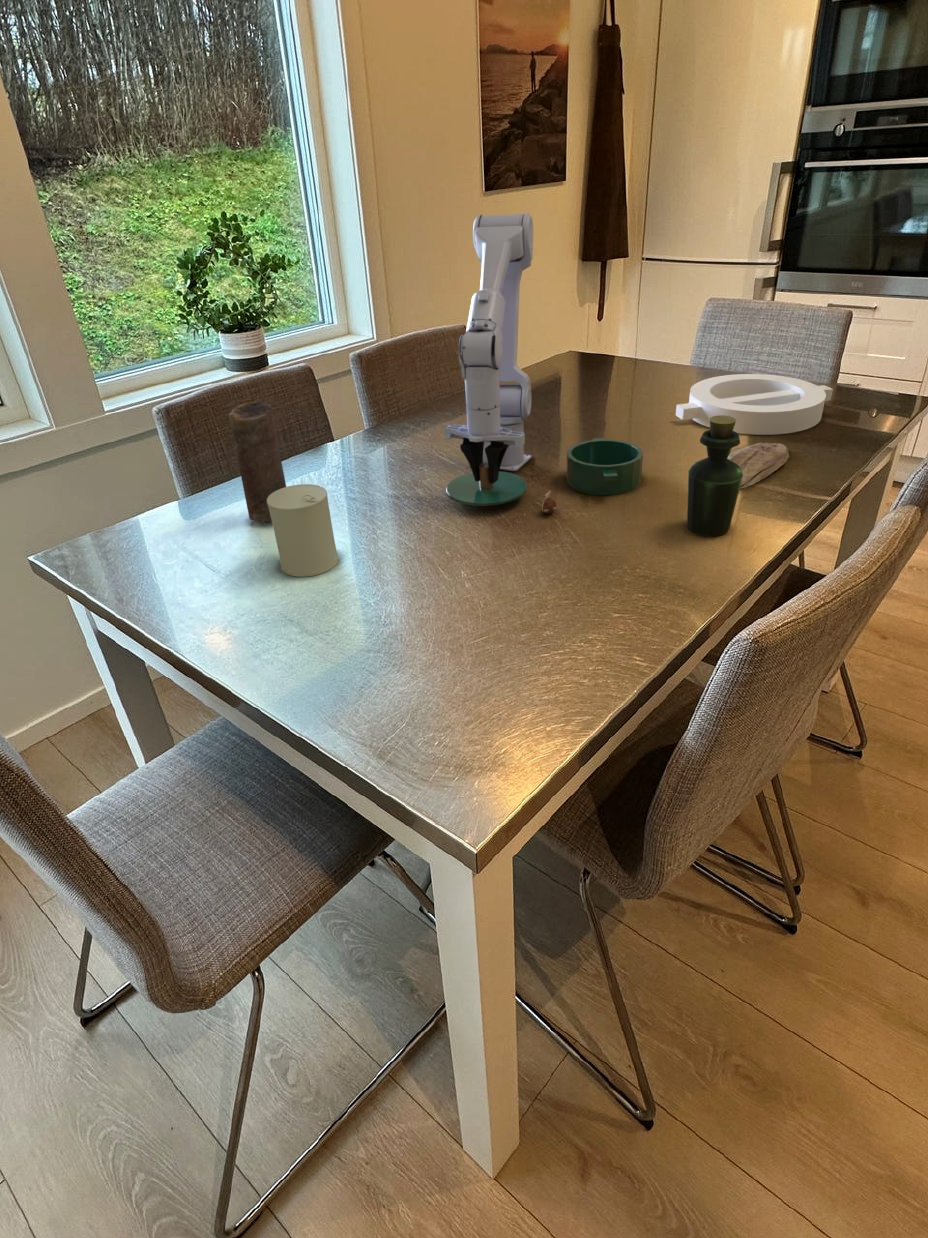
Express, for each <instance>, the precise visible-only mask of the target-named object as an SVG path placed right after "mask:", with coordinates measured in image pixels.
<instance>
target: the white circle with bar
mask: <svg viewBox="0 0 928 1238" xmlns="http://www.w3.org/2000/svg"><path fill="white" fill-rule="evenodd" d="M833 392H834V388H831V387H829V386H828V385H824V384H821V385H817V384H814V383H812V382H810V381H807V380H803V379H800V378H795V377H790V376H783V375H777V374H776V375H775V374H763V373H762V374H761V373H737V374H736V373H735V374H726V375H719V376H713V377H708V378H705V379H702V380H700V381H698V382H696V383H694V384H692V386H691V387H690V389H689V398H688V402H687V403H679V404H676V407H675V416H676V417H678V418H679V419H680V420H682V421H685V420H693V421H694V422H696V423H698V424H699V425H702V426H704V427H707V428H710V418H711V417H713V416H719V415H720V416H730V417H734V418H735V419H736V423H735V425H734V428H733V431H735V432H736V433H738V434H741V435H759V436H770V435H784V434H785V435H787V434H792V433H797V432H798V433H799V432H801V431H805V430H809V429H811V428H813V427H815V426H816V425H818V424H819V423H820V422H821V420H822V417H823V412H824V408H825V403H826V402H829V401H830V402H831V401H832V397H833Z"/></svg>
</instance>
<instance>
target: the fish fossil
mask: <svg viewBox="0 0 928 1238" xmlns="http://www.w3.org/2000/svg"><path fill="white" fill-rule="evenodd" d="M789 458H790V454H789V449H788V447H787V446H786V445H784V444H783V443H773V442H772V443H771V442H758V443H755V444H751V445H747V446H744V447H741V448H736V449H735V450H733V451H732V452H730V453H729V456H728V458H727V459H729V460H731V461H732V462H734V463H736V464H737V465H738V466H740V469H741V471H742V474H743V478H742V482H741V485H740V489H739V490H741V489H746V488H748V487H750V486H753V485H755V484H757V483H758V482H760V481H762V480H765V479H766V478H767V477H768V476H770V475H772V474H773V473H774V472H775V471H777V470H778V469H780V468H781V467H782V466H784V465H785V464H786V463H787V462H788V459H789Z"/></svg>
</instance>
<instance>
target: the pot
mask: <svg viewBox="0 0 928 1238" xmlns="http://www.w3.org/2000/svg"><path fill="white" fill-rule="evenodd" d="M643 459H644V453H643V449H642V448H641V447H640V446H638V445H636V444H634V443H631V442H628V441H625V440H619V439H606V438H605V437H595V438H592V440H585V441H582V442H581V441H580V442H578V443H576V444H574V445H572V446H570V447H569V448H568V449H567V451H566V483H567V485H568V486H569V487H570V488H572V489H573V490H575V491H577V492H580V493H583V494H587V495H593V496H594V495H595V496H613V495H622V494H625V493H628V492H631V491H633V490H635V489H637V488H638V487H639V486H640V484H641V480H642V472H643V462H644V461H643Z"/></svg>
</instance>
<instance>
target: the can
mask: <svg viewBox="0 0 928 1238" xmlns="http://www.w3.org/2000/svg"><path fill="white" fill-rule="evenodd" d="M267 504H268V507H269V511H270V516H271V520H272V528H273V533H274V538H275V541H276V546H277V547H276V548H277V552H278V556H279V562H280V570H281V571H282V572H283V573H285V574H286V575H288V576H292V577H299V578H304V577H314V576H317V575H321V574H324V573H326V572H329V571H330V570H332V569H333V568H334V567H335V566H336V565H337V564H338V562H339V560H340V557H339V553H338V552H337V547H336V541H335V534H334V529H333V524H332V518H331V510H330V505H329V499H328V491H327V489H326V488H324V487H323V486H320V485H319V484H318V485H317V484H311V483H310V484H309V483H304V484H303V483H301V484H300V483H299V484H293V485H288V486H286V487H284V488H281V489H279V490H277V491H275V492H273V493H272V494H270V495H269V496H268V498H267Z"/></svg>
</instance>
